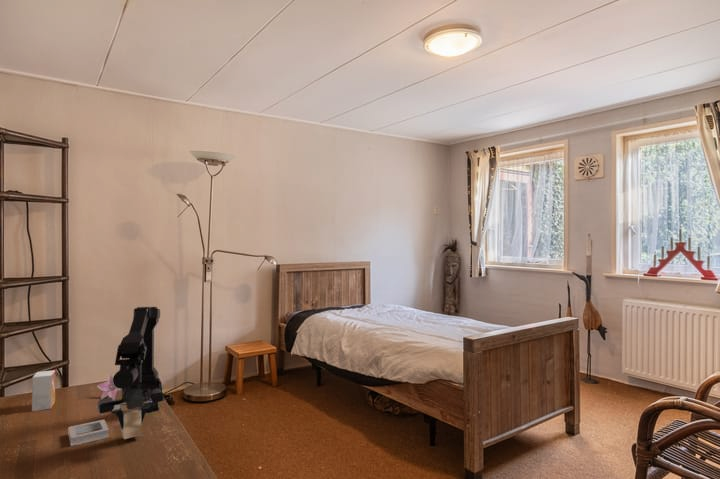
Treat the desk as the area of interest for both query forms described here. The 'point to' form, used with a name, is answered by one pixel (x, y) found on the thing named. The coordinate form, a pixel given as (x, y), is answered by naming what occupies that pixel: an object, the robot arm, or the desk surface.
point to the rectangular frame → (88, 436)
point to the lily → (108, 388)
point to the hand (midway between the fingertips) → (131, 426)
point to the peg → (131, 422)
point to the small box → (43, 390)
